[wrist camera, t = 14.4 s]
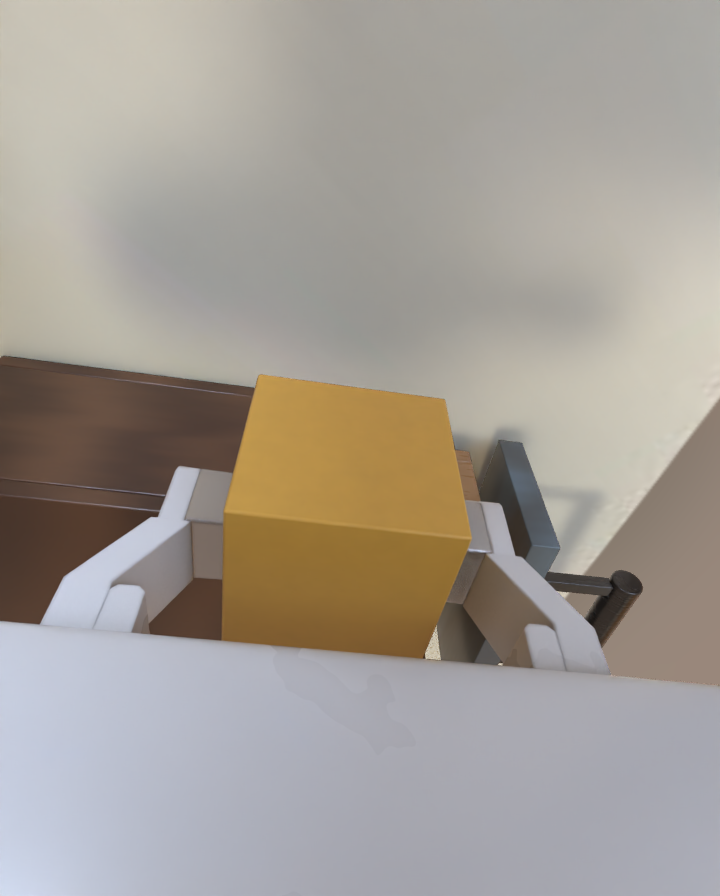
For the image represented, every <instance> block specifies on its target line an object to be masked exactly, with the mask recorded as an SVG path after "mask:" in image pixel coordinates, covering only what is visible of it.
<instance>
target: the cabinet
mask: <svg viewBox="0 0 720 896" xmlns="http://www.w3.org/2000/svg"><path fill="white" fill-rule="evenodd" d="M254 390H255V388H251V387H243V386H235V385H227V384H219V383H211V382H204V381H196V380H188V379H180V378H172V377H164V376H157V375H149V374H141V373H133V372H125V371H117V370H109V369H102V368H94V367H86V366H78V365H70V364H62V363H54V362H47V361H39V360H31V359H23V358H15V357H7V356H2V357H1V358H0V621H6V622H18V623H29V624H40V623H41V621H42V619H43V617H44V615H45V613H46V611H47V609H48V607H49V605H50V603H51V601H52V599H53V597H54V595H55V593H56V591H57V589H58V587H59V585H60V583H61V581H62V579H63V577H64V576H65V575H67V574H68V573H70V572H71V571H73V570H74V569H76V568H77V567H78V566H80V565H81V564H83V563H84V562H86V561H87V560H89V559H90V558H92V557H93V556H95V555H96V554H97V553H99V552H100V551H102V550H103V549H105V548H106V547H108V546H109V545H111V544H112V543H114V542H115V541H116V540H118V539H119V538H121V537H122V536H124V535H125V534H127V533H128V532H130V531H131V530H133V529H134V528H135V527H137V526H138V525H140V524H141V523H143V522H144V521H146V520H147V519H149V518H150V517H158V515H159V513H160V510H161V507H162V505H163V502H164V499H165V497H166V494H167V491H168V489H169V486H170V484H171V481H172V478H173V476H174V473H175V470H176V469H177V468H178V467H179V466H184V467H191V468H198V469H208V470H216V471H223V472H230V473H233V471H234V468H235V464H236V460H237V456H238V452H239V448H240V444H241V440H242V437H243V433H244V429H245V425H246V421H247V417H248V413H249V409H250V405H251V402H252V398H253V394H254ZM149 631H150V634H153V635H164V636H175V637H186V638H198V639H209V640H220V641H222V580H220V579H206V578H193V580H192V581H191V582H190V583H189V584H188V585H187V586H186V587H185V588H184V589H183V590H182V591H181V592H180V593H179V594H178V595H177V596H176V597H175V598H174V599H173V600H172V601H171V602H170V603H169V604H168V605H167V606H166V607H165V608H164V609H163V610H162V611H161V612H160V613H159V614H158V615H157V616H156V617H155V618H154V619H153V620H152V621H151V622H150V623H149Z"/></svg>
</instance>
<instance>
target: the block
mask: <svg viewBox="0 0 720 896" xmlns="http://www.w3.org/2000/svg"><path fill="white" fill-rule="evenodd" d="M471 540H472V535H471V530H470V525H469V520H468V515H467V510H466V505H465V499H464V494H463V489H462V484H461V479H460V474H459V468H458V463H457V458H456V453H455V448H454V443H453V438H452V432H451V427H450V422H449V417H448V412H447V407H446V402H445V400H444V399H439V398H432V397H424V396H417V395H409V394H402V393H395V392H387V391H380V390H372V389H365V388H357V387H350V386H342V385H335V384H328V383H320V382H313V381H305V380H298V379H290V378H283V377H275V376H268V375H259V376H258V378H257V382H256V386H255V390H254V394H253V398H252V402H251V405H250V409H249V413H248V417H247V421H246V425H245V429H244V433H243V437H242V440H241V444H240V448H239V452H238V456H237V460H236V464H235V468H234V471H233V475H232V479H231V483H230V487H229V491H228V495H227V499H226V503H225V506H224V510H223V570H222V641H231V642H243V643H254V644H265V645H276V646H287V647H299V648H310V649H321V650H332V651H343V652H355V653H366V654H377V655H388V656H400V657H411V658H422V659H423V656H424V654H425V651H426V649H427V647H428V644H429V642H430V639H431V637H432V635H433V632H434V630H435V627H436V625H437V622H438V620H439V618H440V615H441V613H442V610H443V608H444V606H445V603H446V601H447V598H448V596H449V593H450V591H451V589H452V586H453V584H454V581H455V579H456V577H457V574H458V572H459V569H460V567H461V565H462V562H463V560H464V557H465V555H466V552H467V550H468V548H469V545H470V543H471Z"/></svg>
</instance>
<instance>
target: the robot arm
mask: <svg viewBox="0 0 720 896" xmlns="http://www.w3.org/2000/svg"><path fill="white" fill-rule="evenodd" d="M232 475H233V473H230V472H223V471H216V470H208V469H198V468H191V467H184V466H179V467H178V468H177V469H176V470H175V473H174V476H173V478H172V481H171V484H170V486H169V489H168V491H167V494H166V497H165V499H164V502H163V505H162V507H161V510H160V513H159V515H158V517H150V518H149V519H147V520H146V521H144V522H143V523H141V524H140V525H138V526H137V527H135V528H134V529H133V530H131V531H130V532H128V533H127V534H125V535H124V536H122V537H121V538H119V539H118V540H116V541H115V542H114V543H112V544H111V545H109V546H108V547H106V548H105V549H103V550H102V551H100V552H99V553H97V554H96V555H95V556H93V557H92V558H90V559H89V560H87V561H86V562H84V563H83V564H81V565H80V566H78V567H77V568H76V569H74V570H73V571H71V572H70V573H68V574H67V575H65V576H64V577H63V579H62V581H61V583H60V585H59V587H58V589H57V591H56V593H55V595H54V597H53V599H52V601H51V603H50V605H49V607H48V609H47V611H46V613H45V615H44V617H43V619H42V621H41V623H40V624H29V623H18V622H6V621H0V896H720V685H713V684H702V683H690V682H679V681H668V680H656V679H646V678H635V677H623V676H612V675H611V673H610V670H609V668H608V665H607V662H606V659H605V656H604V653H603V651H602V648H601V645H600V642H599V639H598V637H597V634H596V631H595V629H594V628H593V627H592V626H591V625H590V624H589V623H588V622H587V621H586V620H585V619H584V618H583V617H582V616H581V615H580V614H579V613H578V612H577V611H576V610H575V609H574V608H573V607H572V606H571V605H570V604H569V603H568V602H567V601H566V600H565V599H564V598H563V597H562V596H561V595H560V594H559V593H558V592H557V591H556V590H555V589H554V588H553V587H552V586H551V585H550V584H549V583H548V582H547V581H546V580H545V579H544V578H543V577H542V576H541V575H540V574H539V573H537V572H536V571H535V570H534V569H533V568H532V567H531V566H530V565H529V564H528V563H527V562H526V561H525V560H524V559H523V558H522V557H518V556H515V552H514V548H513V545H512V541H511V537H510V534H509V530H508V526H507V523H506V519H505V515H504V512H503V508H502V506H501V505H500V503H492V502H482V501H478V502H477V501H471V500H465V505H466V510H467V515H468V520H469V525H470V530H471V535H472V540H471V543H470V545H469V548H468V550H467V552H466V555H465V557H464V560H463V562H462V565H461V567H460V569H459V572H458V574H457V577H456V579H455V581H454V584H453V586H452V589H451V591H450V593H449V596H448V598H447V601H446V602H449V603H457V604H463V607H464V609H465V610H466V611H467V613H468V614H469V616H470V617H471V618H472V620H473V621H474V623H475V624H476V625H477V627H478V628H479V630H480V631H481V633H482V634H483V635H484V637H485V638H486V640H487V641H488V642H489V644H490V645H491V647H492V648H493V649H494V651H495V652H496V654H497V655H498V657H499V658H500V659H501V661H502V662H503V666H501V665H489V664H478V663H467V662H456V661H445V660H433V659H422V658H411V657H400V656H388V655H377V654H366V653H355V652H343V651H332V650H321V649H310V648H299V647H287V646H276V645H265V644H254V643H243V642H231V641H220V640H209V639H198V638H186V637H175V636H164V635H153V634H150V631H149V623H150V622H151V621H152V620H153V619H154V618H155V617H156V616H157V615H158V614H159V613H160V612H161V611H162V610H163V609H164V608H165V607H166V606H167V605H168V604H169V603H170V602H171V601H172V600H173V599H174V598H175V597H176V596H177V595H178V594H179V593H180V592H181V591H182V590H183V589H184V588H185V587H186V586H187V585H188V584H189V583H190V582H191V581H192V580H193V578H206V579H220V580H222V570H223V510H224V506H225V503H226V499H227V495H228V491H229V487H230V483H231V479H232Z"/></svg>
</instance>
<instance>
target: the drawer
mask: <svg viewBox="0 0 720 896" xmlns="http://www.w3.org/2000/svg"><path fill="white" fill-rule="evenodd" d="M455 453H456V458H457V463H458V468H459V474H460V479H461V484H462V489H463V494H464V499H465V500H471V501H477V502H478V501H482V502H492V503H500V505H501V506H502V508H503V512H504V515H505V519H506V523H507V526H508V530H509V534H510V537H511V541H512V545H513V548H514V552H515V556H518V557H522V558H523V559H524V560H525V561H526V562H527V563H528V564H529V565H530V566H531V567H532V568H533V569H534V570H535V571H536V572H537V573H539V574H540V575H541V576H542V577H543V578H544V579H545V580H546V581H547V582H548V583H549V584H550V585H551V586H552V587H553V588H554V589H555V590H556V591H562V592H572V593H583V594H593V595H598V597H597V598H596V600H595V602H594V603H593V605H592V606H591V608H590V609H589V611H588V612H587V614H586V616H585V617H584V619H585V620H586V621H587V622H588V623H589V624H590V625H591V626H592V627H593V628H594V629H595V631H596V634H597V637H598V639H599V642H600V645H601V648H602V647H603V646H604V644H605V643H606V642H607V640H608V639H609V637H610V636H611V635H612V633H613V632H614V630H615V629H616V628H617V626H618V625H619V623H620V622H621V620H622V619H623V618H624V616H625V615H626V614H627V612H628V611H629V609H630V608H631V607H632V605H633V604H634V602H635V601H636V599H637V598H638V597H639V595H640V594H641V593H642V590H643V586H642V583H641V582H640V580H639V579H638V578H637V577H636V576H635V575H633V574H631V573H630V572H627V571H623V570H618V571H615V572H614V573H613V574H612V575H611V577H610V578H602V577H592V576H583V575H573V574H563V573H553V572H548V571H549V569H550V567H551V565H552V563H553V561H554V559H555V558H556V556H557V554H558V552H559V550H560V545H559V543H558V540H557V537H556V534H555V532H554V529H553V526H552V523H551V521H550V518H549V515H548V512H547V510H546V507H545V504H544V501H543V499H542V496H541V493H540V490H539V488H538V485H537V482H536V479H535V477H534V474H533V471H532V469H531V466H530V463H529V460H528V458H527V455H526V452H525V449H524V447H523V444H522V443H520V442H512V441H504V440H499V441H498V443H497V446H496V449H495V451H494V454H493V457H492V459H491V462H490V465H489V467H488V470H487V473H486V475H485V478H484V480H483V483H482V486H481V488H480V491H479V492H478V487H477V483H476V479H475V475H474V471H473V467H472V463H471V458H470V454H469V452H467V451H459V450H455ZM437 632H438V640H439V648H440V656H441V660H445V661H456V662H467V663H478V664H489V665H498V663H503V662H502V661H501V659H500V658H499V657H498V655H497V654H496V652H495V651H494V649H493V648H492V647H491V645H490V644H489V642H488V641H487V640H486V638H485V637H484V635H483V634H482V633H481V631H480V630H479V628H478V627H477V625H476V624H475V623H474V621H473V620H472V618H471V617H470V616H469V614H468V613H467V611H466V610H465V609H464V607H463V604H457V603H449V602H446V603H445V606H444V608H443V610H442V613H441V615H440V618H439V620H438V622H437ZM423 659H425V654H424V656H423Z"/></svg>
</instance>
